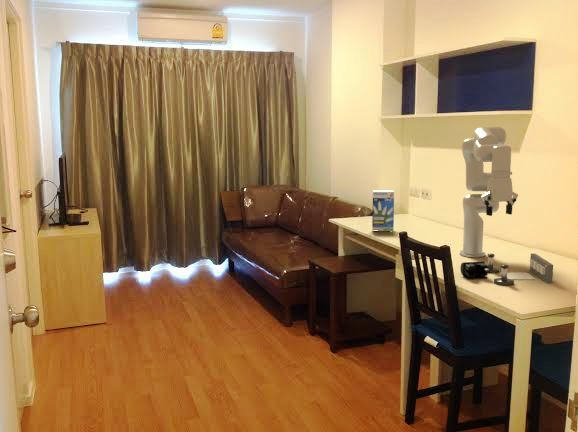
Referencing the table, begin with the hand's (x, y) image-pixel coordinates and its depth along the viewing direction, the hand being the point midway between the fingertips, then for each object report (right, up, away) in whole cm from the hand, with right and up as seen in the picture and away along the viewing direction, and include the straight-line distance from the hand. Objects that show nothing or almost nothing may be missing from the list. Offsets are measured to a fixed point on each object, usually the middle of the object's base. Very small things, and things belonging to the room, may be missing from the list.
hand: (499, 214), depth 235 cm
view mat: (+12, -28, +9) cm, 31 cm away
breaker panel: (+22, -27, +8) cm, 36 cm away
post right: (+2, -29, 0) cm, 29 cm away
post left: (+3, -26, +19) cm, 32 cm away
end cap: (-7, -28, +10) cm, 31 cm away
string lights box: (-30, -10, +113) cm, 118 cm away
